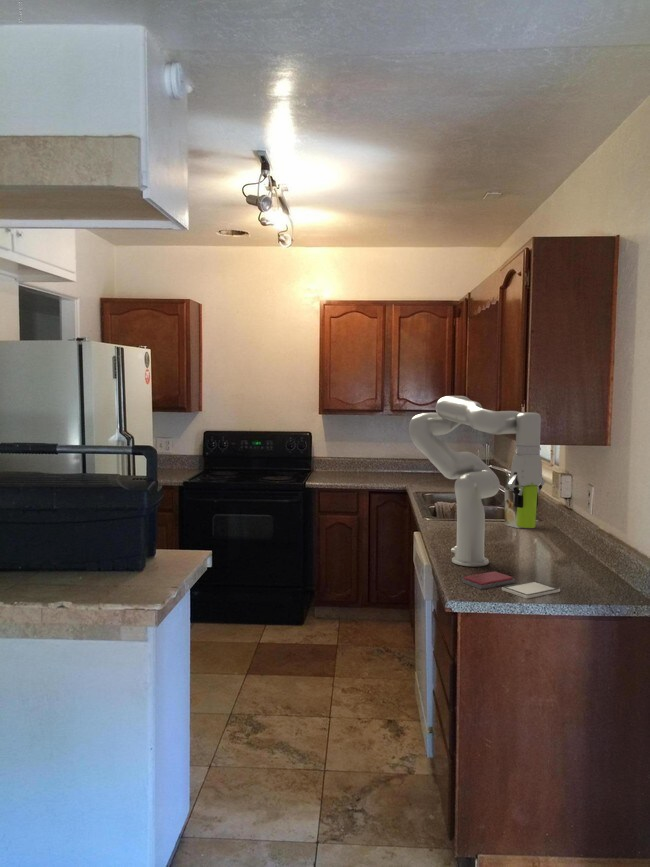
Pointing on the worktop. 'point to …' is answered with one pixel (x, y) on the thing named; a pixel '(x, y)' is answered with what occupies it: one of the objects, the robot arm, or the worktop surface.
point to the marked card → (530, 589)
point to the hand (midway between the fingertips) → (526, 505)
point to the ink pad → (488, 580)
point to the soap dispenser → (528, 508)
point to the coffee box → (510, 509)
